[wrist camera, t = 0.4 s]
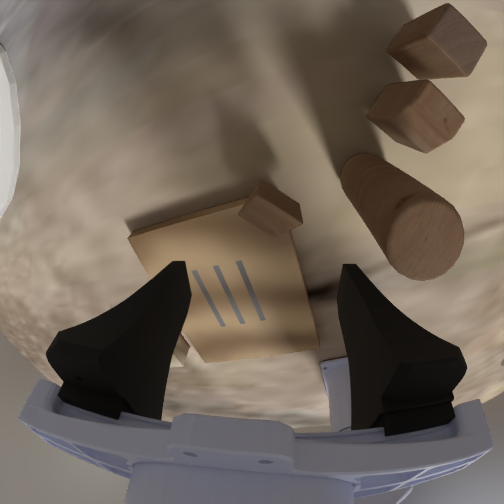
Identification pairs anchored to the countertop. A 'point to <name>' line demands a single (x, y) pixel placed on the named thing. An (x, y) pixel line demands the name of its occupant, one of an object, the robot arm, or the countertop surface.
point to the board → (233, 283)
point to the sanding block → (180, 352)
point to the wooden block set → (409, 134)
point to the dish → (8, 132)
